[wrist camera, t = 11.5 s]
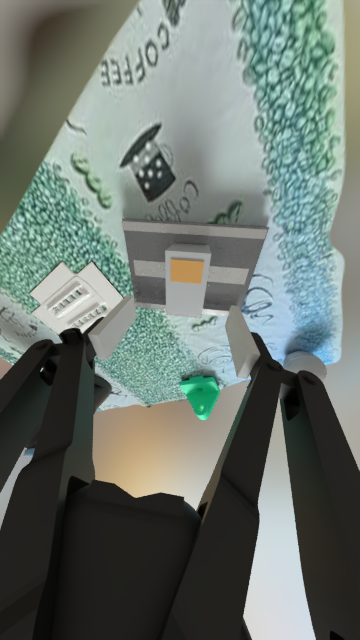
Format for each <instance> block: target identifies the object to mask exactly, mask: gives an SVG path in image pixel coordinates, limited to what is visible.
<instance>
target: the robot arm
mask: <svg viewBox="0 0 360 640" xmlns="http://www.w3.org/2000/svg"><path fill="white" fill-rule="evenodd" d="M136 317H137V316H136V310H135V304H134V297H133V296H129V295H126V296H125V297H124V298H123V299H122V300H121V301H120V302H119V303H118V304H117V305H116V306H115V307H114V308H113V309H112V310H111V311H110V312H109V313H108V314H107V315H106V316H105V317H101V318H99V319H97V320H96V321H95V322H94V323H93V324H92V325H91V326H90V327H89V328H87V329H86V330H85V331H84V332H83V333H82V332H81V330H80V329H79V328H69V329H66V330H64V331H62V332H61V333H60V334H59V337H60V339H61V341H62V342H63V343H59V344H54V343H53V341H52V340H50V339H45V340H41V341H38V342H36V343H34V344H33V345H32V346H30V348H29V349H28V350H27V351H26V352H25V353H24V354H23V355H22V356H21V358H20V359H19V360H18V361H17V362H16V363H15V364H14V365H13V367H12V368H11V369H10V370H9V371H8V372H7V373H6V374H5V375H4V376H3V378H2V379H1V380H0V492H1V491H2V489H3V487H4V485H5V483H6V481H7V479H8V477H9V475H10V474H11V471H12V470H13V468H14V466H15V464H16V462H17V460H18V458H19V457H20V455H21V453H22V451H23V449H24V447H25V448H27V449H26V450H25V453H24V456H26V457H31V458H32V460H31V461H30V463H29V464H28V465H26V466H25V467H24V468H23V469H22V470H21V472H20V473H19V474H18V477H17V479H16V482H15V485H14V487H13V491H12V494H11V497H10V500H9V503H8V507H7V510H6V513H5V516H4V519H3V523H2V526H1V529H0V640H252V639H251V636H250V633H249V631H248V629H247V626H246V623H245V621H244V618H243V614H244V608H245V602H246V596H247V591H248V586H249V580H250V574H251V569H252V563H253V558H254V552H255V547H256V541H257V536H258V529H259V510H258V497H259V492H260V487H261V482H262V477H263V472H264V467H265V462H266V458H267V453H268V448H269V443H270V437H271V432H272V428H273V422H274V418H275V413H276V408H277V403H278V398H280V405H281V412H282V420H283V428H284V436H285V444H286V452H287V459H288V467H289V475H290V483H291V491H292V499H293V506H294V514H295V522H296V530H297V538H298V545H299V553H300V561H301V568H302V575H303V581H304V586H305V593H306V598H307V602H308V607H309V612H310V616H311V621H312V626H313V630H314V633H315V637H316V640H360V471H359V469H358V467H357V464H356V461H355V459H354V457H353V454H352V452H351V450H350V447H349V445H348V442H347V440H346V437H345V435H344V433H343V430H342V428H341V425H340V423H339V421H338V418H337V416H336V413H335V411H334V408H333V406H332V404H331V401H330V399H329V397H328V394H327V392H326V389H325V387H324V384H323V383H322V381H321V379H320V378H319V377H317V376H316V375H315V374H313V373H311V372H309V371H306V370H300V371H299V372H298V373H294V372H291V371H288V370H286V369H284V368H283V367H282V365H281V364H280V363H279V362H277V361H276V360H274V359H272V357H271V355H270V353H269V351H268V349H267V347H266V346H265V344H264V342H263V340H262V338H261V337H260V336H259V335H258V334H257V333H253V332H250V330H249V328H248V326H247V324H246V322H245V319H244V317H243V315H242V313H241V310H240V308H239V306H233V305H231V307H230V311H229V314H228V318H227V321H226V324H225V328H226V332H227V336H228V341H229V345H230V349H231V353H232V358H233V362H234V366H235V370H236V375H237V377H238V378H246V379H247V378H248V376H249V375H250V376H251V381H250V383H249V385H248V386H247V390H246V393H245V395H244V398H243V400H242V403H241V405H240V408H239V410H238V412H237V415H236V417H235V420H234V422H233V425H232V427H231V430H230V432H229V435H228V437H227V439H226V442H225V445H224V447H223V449H222V452H221V454H220V457H219V459H218V462H217V464H216V466H215V469H214V471H213V474H212V476H211V479H210V481H209V483H208V485H207V487H206V489H205V491H204V493H203V496H202V498H201V501H200V503H199V506H198V508H197V510H196V511H195V509H194V508H193V507H191V506H190V505H189V504H188V503H187V502H185V501H184V497H181V496H176V495H171V494H165V493H157V494H152V495H147V496H143V497H138V498H134V497H133V496H131V495H130V494H128V493H127V492H126V491H124V490H123V489H121V488H120V487H118V486H117V485H116V484H114V483H108V482H103V481H98V480H95V469H94V465H93V460H92V447H93V446H92V444H93V415H94V413H95V411H96V410H97V408H98V407H99V406H100V405H101V404H102V403H103V402H104V401H105V400H106V399H107V398H108V396H109V395H110V393H111V391H112V388H111V386H110V384H109V383H108V382H106V381H105V380H104V379H102V378H100V377H98V376H95V375H94V373H95V361H94V357H95V356H96V355H97V357H98V359H99V360H108V359H109V357H110V356H111V354H112V353H113V351H114V350H115V348H116V347H117V345H118V344H119V342H120V341H121V339H122V338H123V336H124V335H125V333H126V332H127V330H128V329H129V327H130V326H131V324H132V323H133V321H134V320H135V318H136ZM42 367H43V370H42V371H41V369H42ZM40 371H41V372H40Z"/></svg>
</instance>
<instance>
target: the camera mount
mask: <svg viewBox="0 0 360 640" xmlns="http://www.w3.org/2000/svg"><path fill="white" fill-rule="evenodd" d="M180 387H181V389H182V390H183V391H184V393H185V394H186V396H187V398H188V400H189V402H190V403H191V405H192V407H193V409H194V412H195V414H196V415H197V416H198V418H199V419H201V420H206V419H207V418H208V417H209V416H210V414H211V411H212V409H213V407H214V405H215V403H216V401H217V399H218V397H219V395H220V389H219V387H218V385H217V383H216V381H215V379H214V378H213V377H208V378H204V377H203V376H197V377H191V378H190V380H186V381H181V385H180ZM202 409H203V410H202ZM201 410H202V411H201Z"/></svg>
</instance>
